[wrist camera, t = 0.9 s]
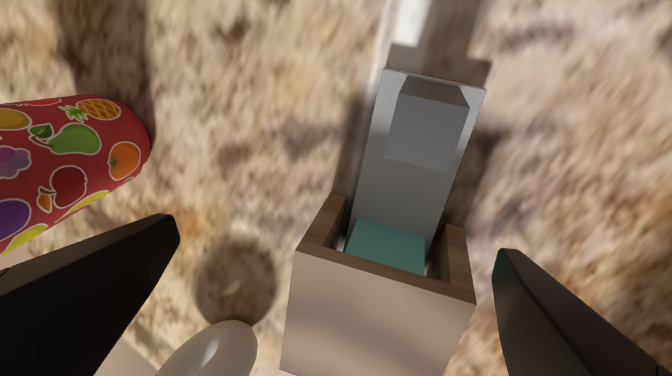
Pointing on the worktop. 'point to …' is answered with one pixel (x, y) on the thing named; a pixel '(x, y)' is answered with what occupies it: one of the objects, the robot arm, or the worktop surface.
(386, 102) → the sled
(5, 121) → the smoothie
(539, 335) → the robot arm
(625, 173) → the worktop surface
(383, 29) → the worktop surface
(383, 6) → the worktop surface
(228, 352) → the donut
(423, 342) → the tunnel
